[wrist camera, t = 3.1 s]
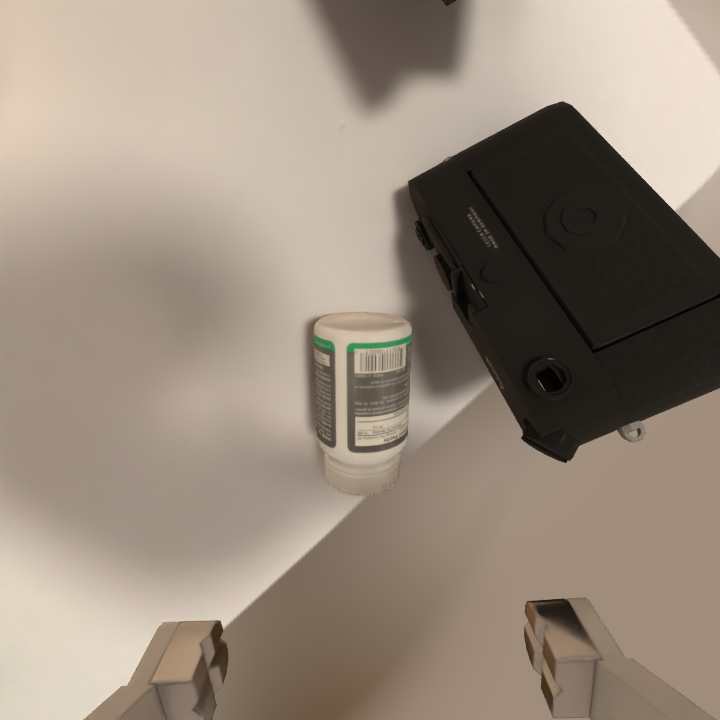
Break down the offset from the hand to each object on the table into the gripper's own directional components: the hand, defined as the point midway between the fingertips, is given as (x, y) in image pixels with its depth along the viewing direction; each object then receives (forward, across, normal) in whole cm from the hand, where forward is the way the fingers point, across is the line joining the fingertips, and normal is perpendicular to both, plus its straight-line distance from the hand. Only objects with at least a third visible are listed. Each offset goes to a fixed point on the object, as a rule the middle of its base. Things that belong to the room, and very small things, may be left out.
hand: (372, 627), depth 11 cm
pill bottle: (+11, 0, -6) cm, 12 cm away
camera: (+10, -12, -9) cm, 18 cm away
